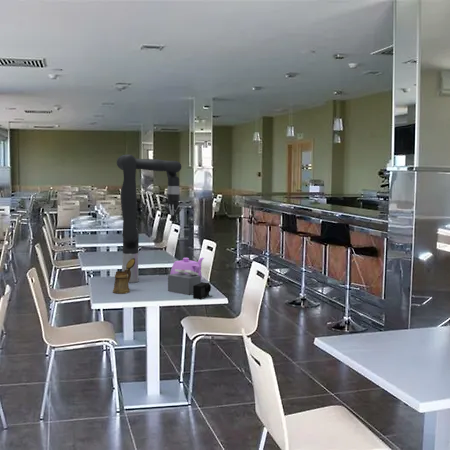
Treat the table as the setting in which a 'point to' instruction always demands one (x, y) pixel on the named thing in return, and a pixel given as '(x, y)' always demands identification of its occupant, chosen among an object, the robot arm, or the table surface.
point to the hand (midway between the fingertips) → (173, 221)
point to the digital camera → (201, 290)
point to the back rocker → (180, 271)
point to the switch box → (182, 283)
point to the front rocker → (191, 272)
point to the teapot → (187, 266)
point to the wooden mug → (123, 279)
